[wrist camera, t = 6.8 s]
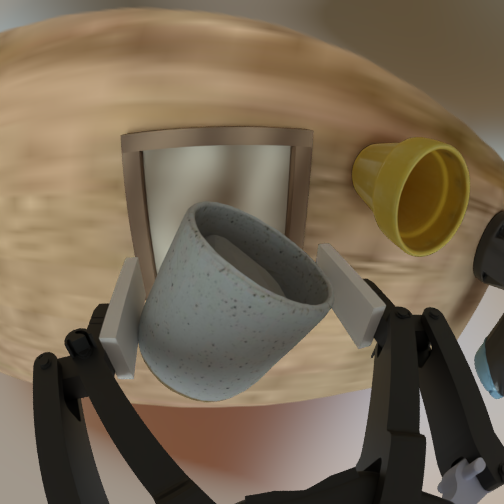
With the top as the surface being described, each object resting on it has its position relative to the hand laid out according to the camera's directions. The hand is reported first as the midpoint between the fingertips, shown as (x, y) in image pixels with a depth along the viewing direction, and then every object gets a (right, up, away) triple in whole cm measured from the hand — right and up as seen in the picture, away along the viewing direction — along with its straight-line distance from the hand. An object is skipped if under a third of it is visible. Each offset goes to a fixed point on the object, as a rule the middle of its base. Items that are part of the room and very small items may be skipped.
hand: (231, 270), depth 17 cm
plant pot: (+15, +10, +11) cm, 21 cm away
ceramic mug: (0, 0, +1) cm, 1 cm away
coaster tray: (-2, +5, +9) cm, 11 cm away
